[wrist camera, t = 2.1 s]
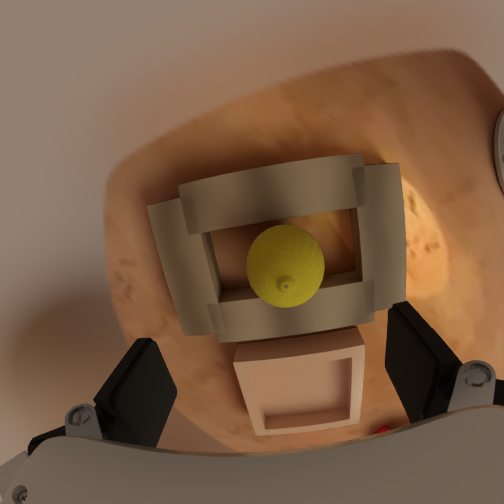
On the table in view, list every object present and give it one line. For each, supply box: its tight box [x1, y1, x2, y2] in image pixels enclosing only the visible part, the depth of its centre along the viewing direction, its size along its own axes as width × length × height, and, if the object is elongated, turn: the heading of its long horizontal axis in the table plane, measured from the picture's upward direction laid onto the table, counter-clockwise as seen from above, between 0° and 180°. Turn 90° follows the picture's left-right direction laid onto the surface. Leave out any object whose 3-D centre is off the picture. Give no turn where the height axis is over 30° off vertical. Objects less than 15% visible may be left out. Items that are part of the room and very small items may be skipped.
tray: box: [233, 327, 365, 436], centre depth 26 cm, size 12×12×3 cm
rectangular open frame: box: [147, 153, 406, 343], centre depth 22 cm, size 20×14×2 cm
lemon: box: [246, 224, 325, 308], centre depth 20 cm, size 6×6×8 cm
